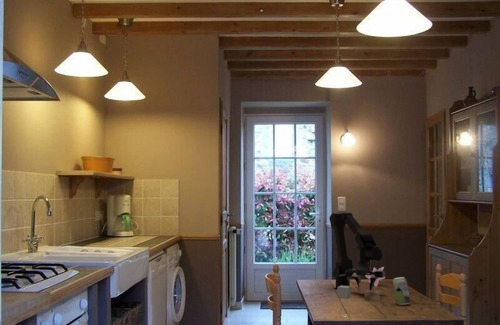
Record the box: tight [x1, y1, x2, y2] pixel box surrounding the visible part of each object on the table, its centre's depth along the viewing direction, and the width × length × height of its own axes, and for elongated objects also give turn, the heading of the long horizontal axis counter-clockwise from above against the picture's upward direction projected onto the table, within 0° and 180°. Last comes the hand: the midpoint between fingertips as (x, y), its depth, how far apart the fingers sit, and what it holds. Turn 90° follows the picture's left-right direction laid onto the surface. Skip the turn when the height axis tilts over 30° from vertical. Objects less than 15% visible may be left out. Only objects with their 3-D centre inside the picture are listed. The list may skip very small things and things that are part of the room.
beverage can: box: [392, 276, 411, 306], centre depth 249 cm, size 6×7×12 cm
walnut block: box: [363, 289, 381, 302], centre depth 261 cm, size 6×6×4 cm
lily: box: [365, 266, 386, 287], centre depth 305 cm, size 12×12×10 cm
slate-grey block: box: [337, 285, 352, 299], centre depth 269 cm, size 5×5×5 cm
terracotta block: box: [358, 281, 370, 295], centre depth 275 cm, size 5×5×5 cm
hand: (365, 290), depth 275 cm, fingers closed on terracotta block, 5 cm apart
